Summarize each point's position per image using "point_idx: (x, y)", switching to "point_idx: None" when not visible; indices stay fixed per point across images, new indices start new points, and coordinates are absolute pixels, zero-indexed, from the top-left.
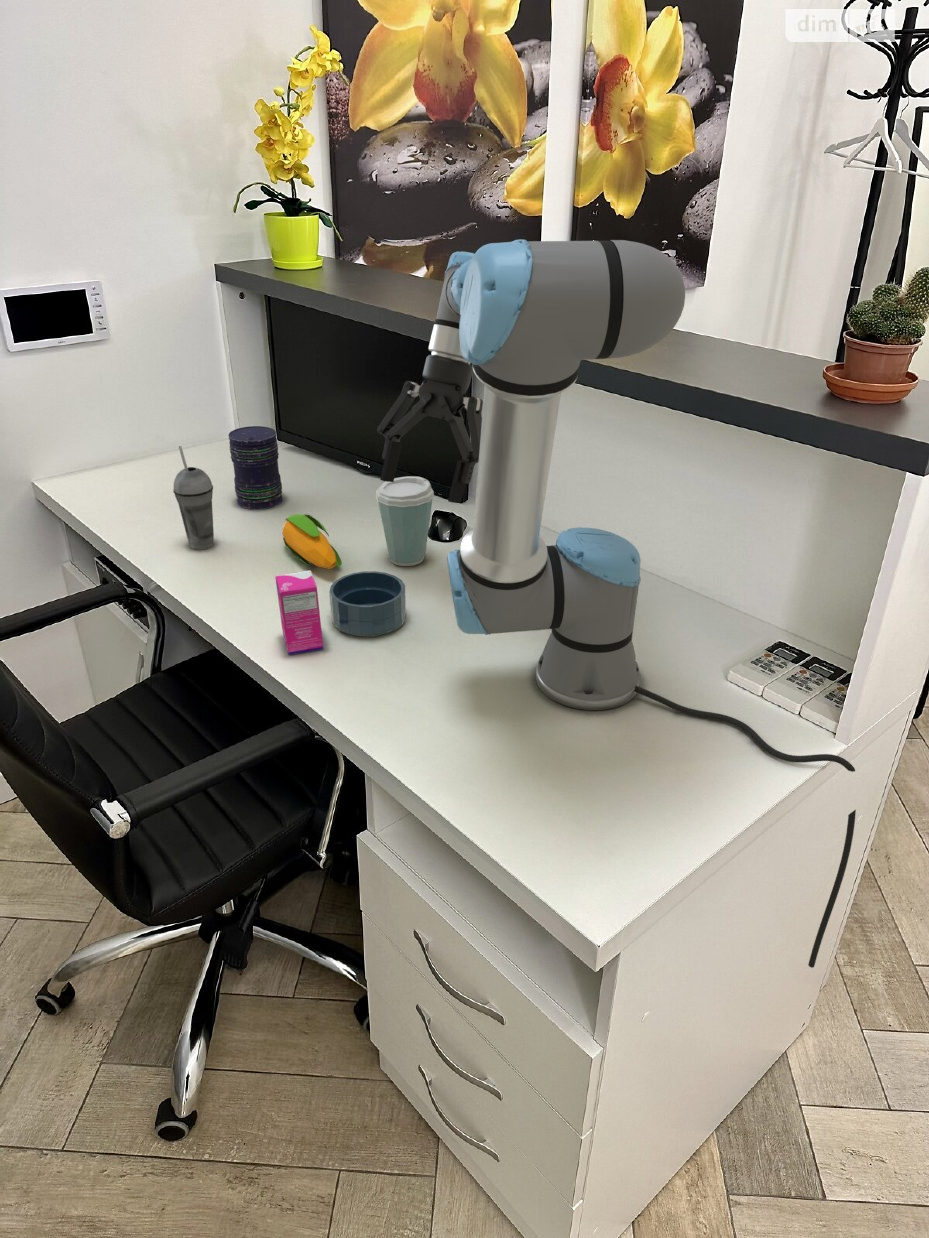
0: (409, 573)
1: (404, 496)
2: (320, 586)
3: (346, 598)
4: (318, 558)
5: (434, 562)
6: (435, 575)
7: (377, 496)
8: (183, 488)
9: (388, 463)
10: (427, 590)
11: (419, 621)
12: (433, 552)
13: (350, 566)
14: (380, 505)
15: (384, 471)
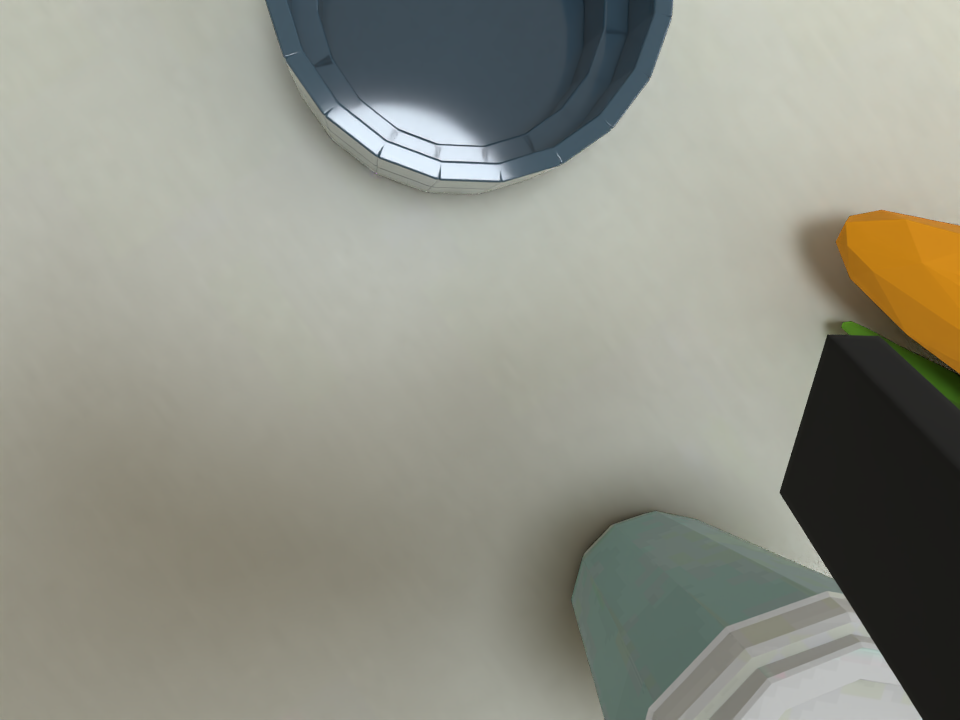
0: (561, 485)
1: (758, 695)
2: (820, 161)
3: (599, 11)
4: (934, 224)
5: (528, 634)
6: (451, 537)
7: None
8: None
9: (947, 477)
10: (398, 401)
11: (255, 141)
12: (587, 708)
13: None
14: None
15: (908, 394)
